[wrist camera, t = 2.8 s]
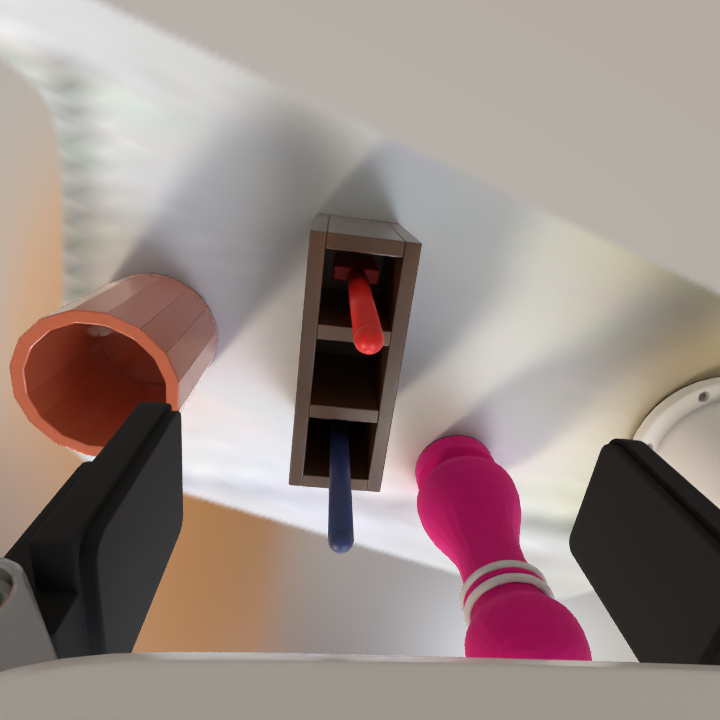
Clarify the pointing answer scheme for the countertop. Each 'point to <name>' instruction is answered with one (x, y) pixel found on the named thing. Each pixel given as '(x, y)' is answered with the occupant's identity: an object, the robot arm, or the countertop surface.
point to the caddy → (350, 350)
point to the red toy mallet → (361, 300)
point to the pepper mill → (491, 556)
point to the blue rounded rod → (340, 488)
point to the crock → (112, 358)
